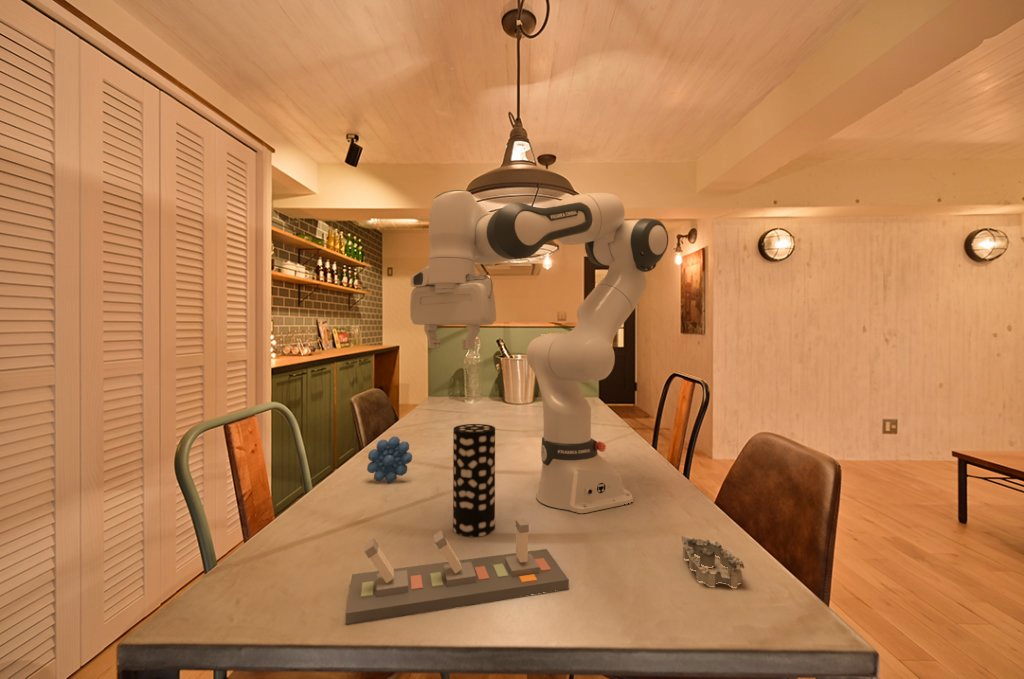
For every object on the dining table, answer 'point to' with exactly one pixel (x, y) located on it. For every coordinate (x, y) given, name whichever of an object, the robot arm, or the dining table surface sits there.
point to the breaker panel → (452, 585)
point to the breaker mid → (447, 551)
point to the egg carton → (712, 562)
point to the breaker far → (379, 560)
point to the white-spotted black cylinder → (473, 479)
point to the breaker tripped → (522, 539)
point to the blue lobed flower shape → (389, 459)
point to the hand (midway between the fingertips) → (450, 348)
